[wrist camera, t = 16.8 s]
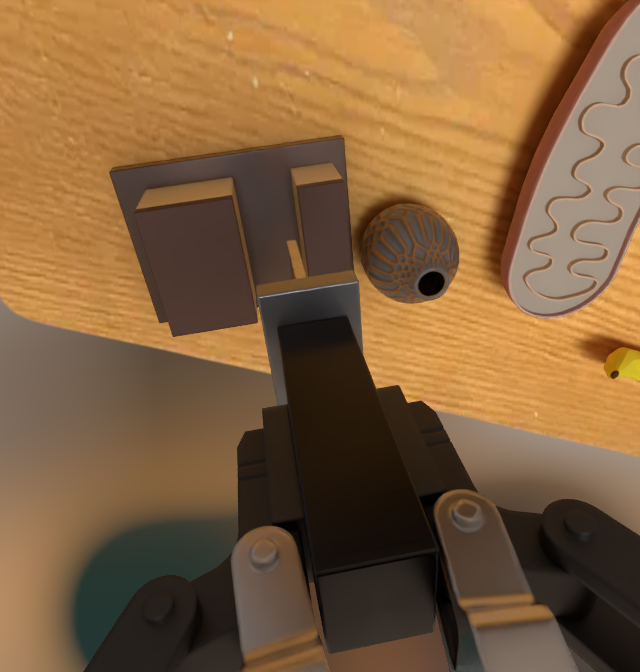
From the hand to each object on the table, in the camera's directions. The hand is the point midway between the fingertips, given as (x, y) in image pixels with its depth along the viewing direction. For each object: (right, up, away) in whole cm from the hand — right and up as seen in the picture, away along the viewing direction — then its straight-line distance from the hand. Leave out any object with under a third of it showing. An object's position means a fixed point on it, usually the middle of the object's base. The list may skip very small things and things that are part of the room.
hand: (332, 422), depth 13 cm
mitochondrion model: (+19, +16, +25) cm, 35 cm away
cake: (-9, +9, +23) cm, 27 cm away
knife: (-1, +5, +8) cm, 9 cm away
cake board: (-6, +10, +24) cm, 27 cm away
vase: (+6, +10, +27) cm, 29 cm away
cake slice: (0, +11, +24) cm, 26 cm away
